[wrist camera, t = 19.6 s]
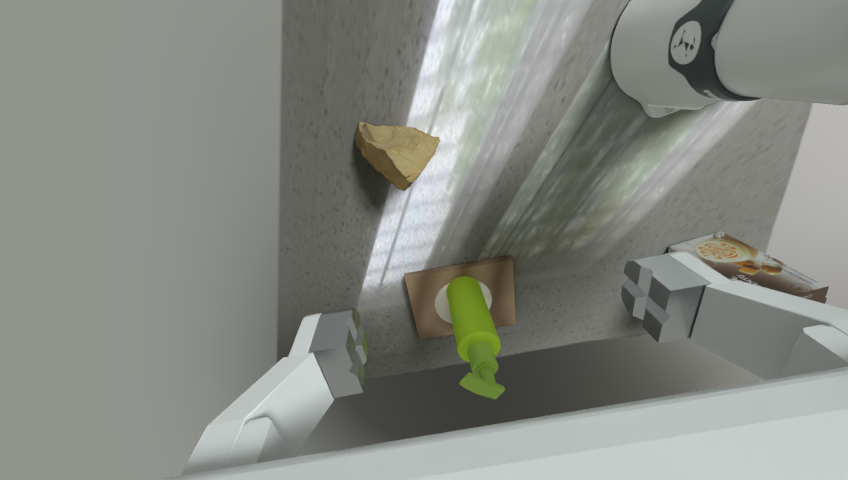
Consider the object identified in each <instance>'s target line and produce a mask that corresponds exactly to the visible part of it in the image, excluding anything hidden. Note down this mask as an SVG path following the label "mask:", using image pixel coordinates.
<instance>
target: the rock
mask: <svg viewBox="0 0 848 480" xmlns="http://www.w3.org/2000/svg"><path fill="white" fill-rule="evenodd" d="M355 142H356V147H357V148H358V149H359V151H360V152H361V155H362V156H363V157H364V158H365V159H366V160H367V161H368V162H369V164H370V165H372V166H373V168H374V169H375V170H376V171H377V172H379V173H381V174H382V175H383V176H384V177H385V178H387V179H388V180H389V181H390V182H391V183H392V184H394V185H395V186H396V187H397V188H399V189H401V190H403V191H405V190H406V189H407V188H409V187H410V186H411V184H412V183H413V182H414V181H415V179H416V178H417V177H418V176H419V175H420V174H421V172H422V171H423V169H424V168H425V167H426V165H427V163H428V162H429V161H430V159H431V158H432V156H433V155H434V154H435V151H436V148H437V146H438V143H439V142H440V140H439V138H438V137H432V136H430V135H428V134H426V133H424V132H422V131H420V130H417V128H410V127H405V126H394V127H392V126H373V125H371V124H368V123H365V122H359V123H358V127H357V131H356V135H355Z"/></svg>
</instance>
